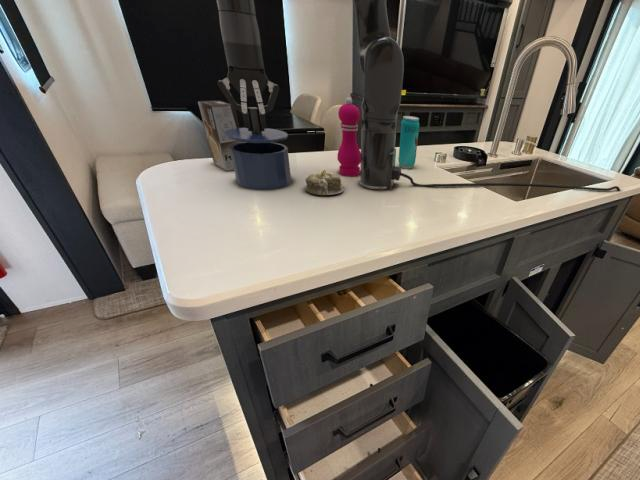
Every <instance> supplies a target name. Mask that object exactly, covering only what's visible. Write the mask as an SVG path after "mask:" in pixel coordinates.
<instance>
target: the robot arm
mask: <svg viewBox="0 0 640 480" xmlns="http://www.w3.org/2000/svg"><path fill="white" fill-rule="evenodd" d="M352 4H353V9H354V13H355V14H354V15H355V22H356V23H355V24H356V32H357V33H356V34H357V43H358V44H357V45H358V57H359V58H358V59H359V65H360V69H361V71H362V74H363V97H362V102H361V105H360V152H361V163H360V174H359V178H360V180H359V185H360V186H362V187H364V188H366V189H370V190H374V191H375V190H377V191H378V190H379V191H381V190H391V191H392V188H393V186H394V184H395V181H400V179H401V177H403V178H406V179H407V180H409V181H410V184H411V185H412V186H414V187H419V188H442V187H443V188H444V187H446V188H448V187H449V188H451V187H496V186H497V187H507V186H508V187H536V188H538V187H539V188H555V189H569V190H570V189H572V190H587V191H599V192H600V191H601V192H607V191H608V192H609V191H613V190H616V191H617V192H621V189H620V186H617V185H615V186H612V187H605V188H604V187H603V188H602V187H591V186H576V185H575V186H574V185H558V184H544V183H522V182H521V183H518V182H517V183H515V182H475V183H474V182H469V183H467V182H466V183H430V184H429V183H428V184H419V183H416V182H415V181H414V179H413V177H412V176H411V175H408V174H406V173H403V172H402V168H401V167H400V166H396V155H397V148H396V143H397V142H396V140H397V127H398V126H397V125H398V113H399V109H400V106H401V101H402V91H403V82H404V70H405V58H404V53H403V51H402V50H403V49H402V48H401V46H400V44H399V43H398V42H397V41H396V40H395V39H393V38H392V36H391V30H390V24H389V18H388V8H387V0H352ZM216 5H217V10H218V17H219V27H220V32H221V33H220V34H221V39H222V43H223V49H224V55H225V59H226V64H227V69H228V71H227V74H226V77H225V78H223V79H222V80H221V79H219V80H217V84H216V85H217V86H218V88H219V90H220V91H221V92H222V94H223V96H224V97H225V99H226V100H227V101H228V103H229V104H231V106H232V107H233V109H234V110H236V112H237V111H238V112H240V113H241V115H242V120H243V126H244V128H248V131H251V125H250V119H249V114H248V109H247V108H248V99H247V98H249V97H253V98H255V100H256V103H257V108H258V110H259V118H260V124H261V131H265V130H264V129H266V128H268V125H267V118H266V114H268V113H270V112H273V109H274V107H275V104H276V101H277V98H278V95H279V93H280V89H281V88H280V86H279V85H278V84H276V83H274V82H272V81H270V80H269V78H268V75H267V73H266V71H265V64H264V57H263V49H262V43H261V41H262V39H261V34H260V29H259V24H258V20H257V16H256V15H257V14H256V8H255V7H256V6H255V0H216ZM230 84H231V85H232V86H233V87H234V89H235V90H236V91H237V93H238V94H239V95H240V104H239V103H237V101H236V100H235V98H234V96H233V95H232V93H231V91H230V90H231V86H230ZM267 86H268V92H269V93H270V94H269V98H268V100H267V103H266V105H264V101H263V97H262V95H263V93H264V91H265V89H266V88H267Z"/></svg>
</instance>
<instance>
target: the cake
mask: <svg viewBox="0 0 640 480" xmlns="http://www.w3.org/2000/svg"><path fill="white" fill-rule="evenodd" d="M305 183H306V188H305V191H306V192H307V193H310V194H312V195H319V196H329V195H330V196H331V195H338V194H341V193H343V192H344V190H345V189H344V187H343V184H342V179H341V177H340V176H339V175H338V174H337V173H331V172H327V170H326V169H323V170H322V171H321V172H318V173H312V174H310V175H308V176H307V177H305Z"/></svg>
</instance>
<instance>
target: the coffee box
mask: <svg viewBox="0 0 640 480" xmlns="http://www.w3.org/2000/svg"><path fill="white" fill-rule="evenodd" d="M197 104H198V108H199V111H200V115H201V119H202V123H203V127H204V130H205V134H206V138H207V139H206V140H207V142H208V147H209V150H210V153H211V154H210V155H211V158H212V162H213V164H214V165H215V166H217V167H219V168H221V169H222V170H224V171H226V172H227V171H228V172H230V171H234V167H233V162H232V157H231V153H230V146H231V145H234V144H236V143H242V142H241V141H237V140H233V139H229V138H227V137H226V136H225V134H224V133H225V131H227V130H230V129H236V128H240V123H239V118H238V114H237V110H234V109H233V107H232V106H231V104H230V103H229V102H225V101H223V100H199V101H197Z"/></svg>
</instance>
